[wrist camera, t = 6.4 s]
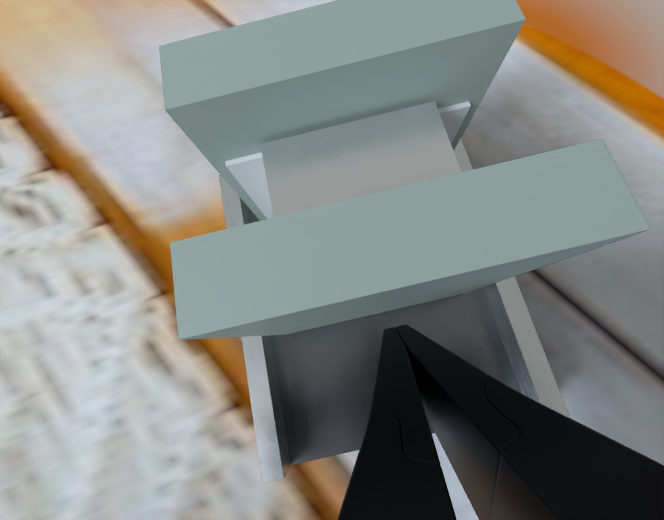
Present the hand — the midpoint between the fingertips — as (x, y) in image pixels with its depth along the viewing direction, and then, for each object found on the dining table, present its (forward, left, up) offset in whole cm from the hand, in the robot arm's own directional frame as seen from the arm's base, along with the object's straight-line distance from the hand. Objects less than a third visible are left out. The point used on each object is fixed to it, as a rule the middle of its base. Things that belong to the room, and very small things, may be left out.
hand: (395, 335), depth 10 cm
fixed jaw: (+7, -4, -6) cm, 10 cm away
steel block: (+5, -2, -6) cm, 8 cm away
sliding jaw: (+2, -1, -5) cm, 6 cm away
